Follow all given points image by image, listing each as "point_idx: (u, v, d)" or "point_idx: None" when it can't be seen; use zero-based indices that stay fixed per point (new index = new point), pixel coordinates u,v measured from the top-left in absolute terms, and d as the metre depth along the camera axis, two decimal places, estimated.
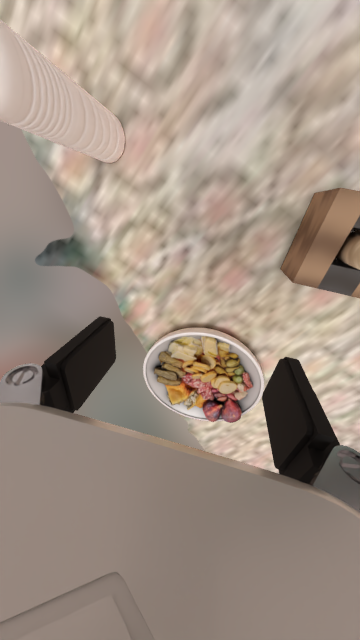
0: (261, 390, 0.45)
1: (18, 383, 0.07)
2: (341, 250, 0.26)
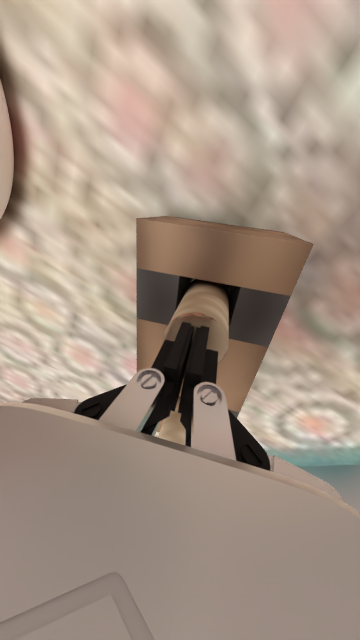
0: None
1: (143, 384, 0.07)
2: (203, 283, 0.16)
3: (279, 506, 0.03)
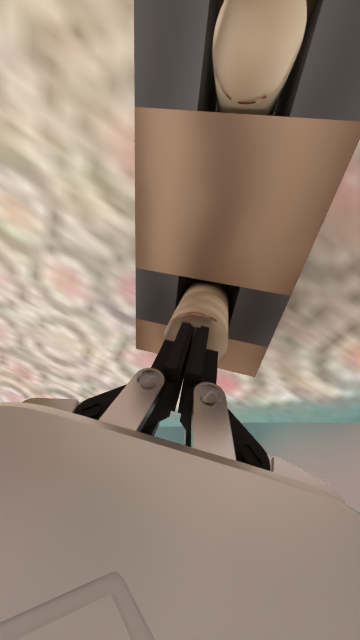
0: None
1: (143, 384, 0.07)
2: None
3: (279, 506, 0.03)
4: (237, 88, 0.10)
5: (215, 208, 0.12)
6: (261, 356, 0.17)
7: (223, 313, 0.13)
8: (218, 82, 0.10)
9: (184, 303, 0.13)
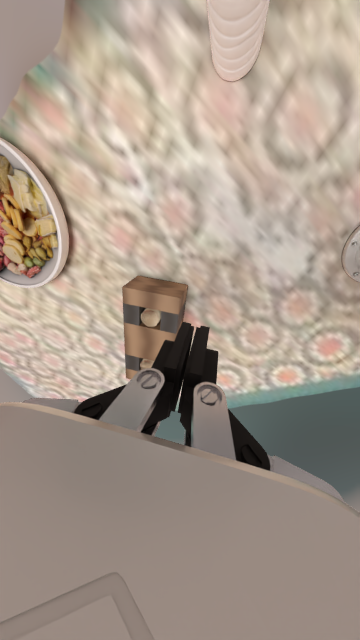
0: (30, 286, 0.48)
1: (143, 384, 0.07)
2: None
3: (279, 506, 0.03)
4: (147, 324, 0.42)
5: (146, 343, 0.44)
6: None
7: None
8: (143, 322, 0.42)
9: None
